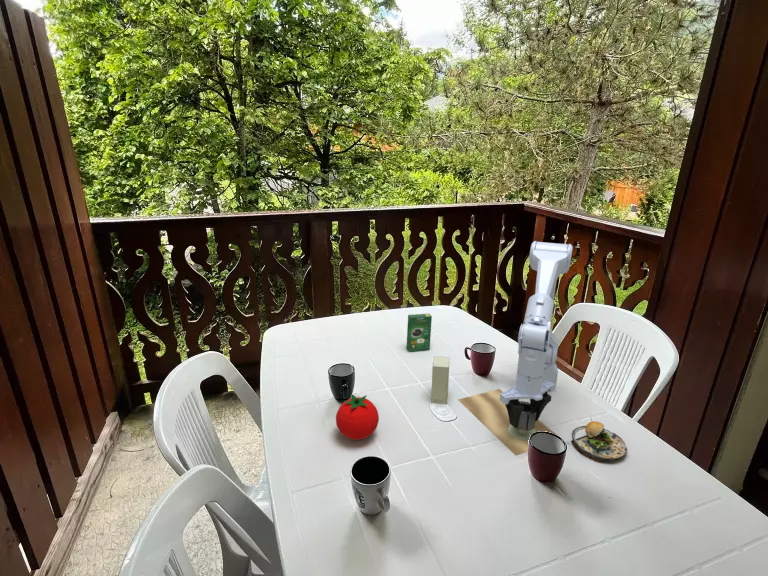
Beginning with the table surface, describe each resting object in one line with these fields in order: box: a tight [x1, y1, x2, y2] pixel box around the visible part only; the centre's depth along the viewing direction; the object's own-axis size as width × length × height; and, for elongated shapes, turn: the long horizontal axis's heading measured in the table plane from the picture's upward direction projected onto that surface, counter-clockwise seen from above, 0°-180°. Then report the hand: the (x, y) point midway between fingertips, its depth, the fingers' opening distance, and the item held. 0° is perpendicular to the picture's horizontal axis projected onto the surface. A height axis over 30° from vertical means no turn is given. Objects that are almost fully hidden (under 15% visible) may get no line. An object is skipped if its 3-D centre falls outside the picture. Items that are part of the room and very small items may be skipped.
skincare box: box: [431, 355, 450, 405], centre depth 113 cm, size 6×4×12 cm
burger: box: [570, 415, 628, 464], centre depth 97 cm, size 12×12×8 cm
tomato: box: [335, 393, 380, 441], centre depth 100 cm, size 10×10×10 cm
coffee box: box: [406, 313, 433, 353], centre depth 143 cm, size 8×3×13 cm, turn 103°
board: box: [457, 388, 558, 457], centre depth 106 cm, size 14×24×5 cm, turn 23°
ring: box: [514, 400, 537, 431], centre depth 100 cm, size 6×6×4 cm
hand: (523, 421), depth 100 cm, fingers closed on ring, 6 cm apart
